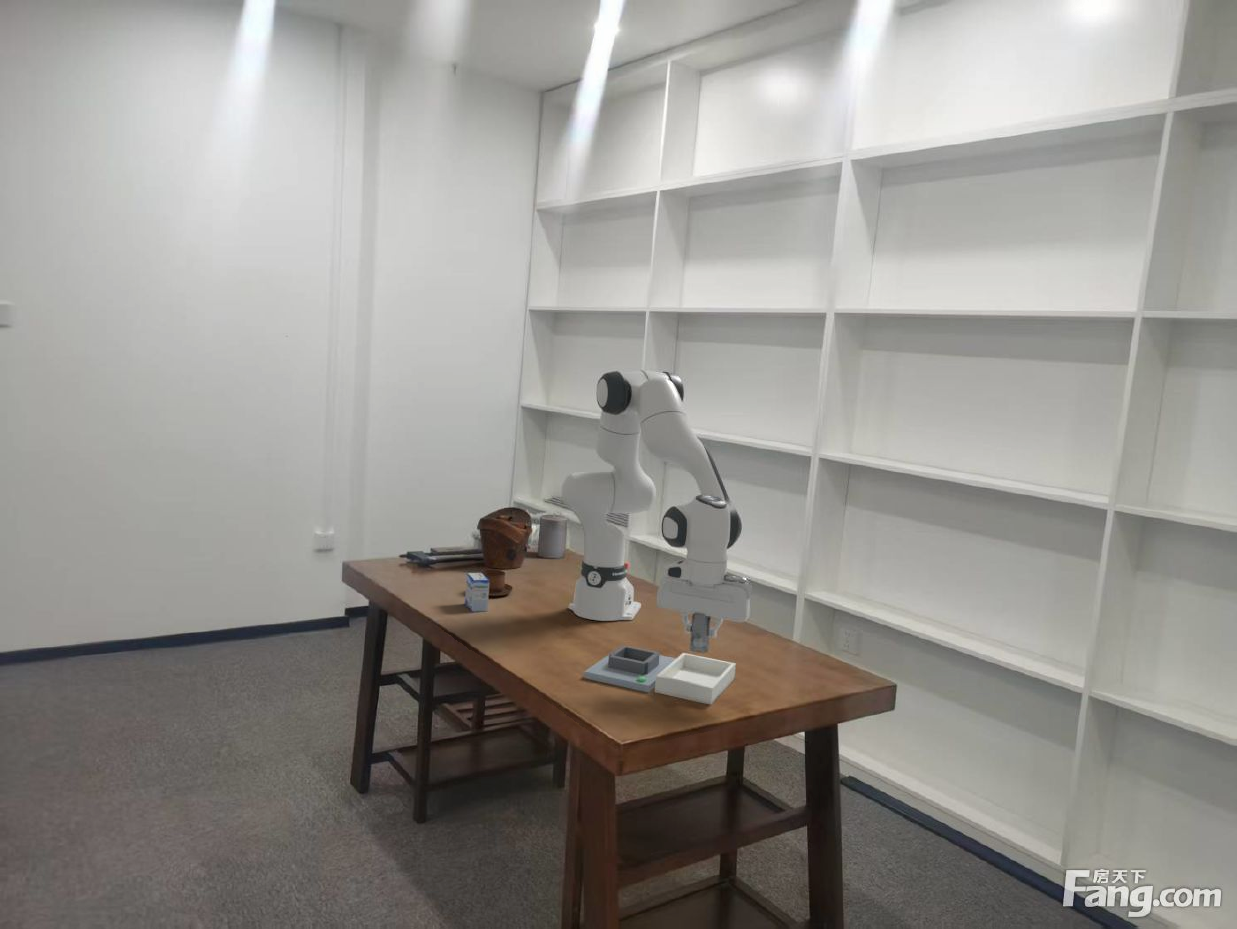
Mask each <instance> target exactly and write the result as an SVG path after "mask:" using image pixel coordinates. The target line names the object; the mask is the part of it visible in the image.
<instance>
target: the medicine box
mask: <svg viewBox="0 0 1237 929" xmlns="http://www.w3.org/2000/svg"><path fill="white" fill-rule="evenodd" d="M488 595H489V580H488V579H487V578H486V577H485V576H484V575H483V574H482V573H480V572H468V573H466V583H465V597H464V598H465V599H464V604H465V605H466V606H467V608H469V609H470V611H471V612H472V613H473V612H487V611H488V607H489V596H488Z"/></svg>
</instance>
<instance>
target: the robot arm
mask: <svg viewBox="0 0 1237 929" xmlns="http://www.w3.org/2000/svg"><path fill="white" fill-rule="evenodd" d="M595 395H596V402H597V405H598V407H599V408H600V409H601V413H600V416H599V417H600V418H599V422H598V427H597V428H598V429H597V435H596V436H597V437H596V441H595V451H596V454H597V455H598V457H599V458H600V459H601V460H602V461H604V462H606V463H607V464H609V465H611V466H612V467H613V470H612V471H594V470H593V471H590V470H588V471H587V470H586V471H579V472H578V471H577V472H572V473H569V474H568V476H566V478H565V479H564V481H563V483H562V485H561V493H560V494H561V498H562V501H563V504H564V505H565V507H567V508H568V509H569V510H570V511H571V512H572V513H573V514H574V515H575V516H576V518H577V519H578V521H579V523H580V525H581V527H582V531H583V536H584V537H583V539H584V543H583V544H584V547H583V548H584V549H583V550H584V551H583V560H582V562H581V566H580V574H581V576H580V577H579V578H578V579H577V580H575V581H576V583H575V587H574V588H575V589H574V593H573V594H574V596H573V603H572V602H571V603H569V605H568V609H569V610H571V611H573V614H575V615H576V616H578V617H580V618H583V619H588V620H594V621H601V622H609V621H610V622H613V621H631V620H634V618H635V616H636V615H637V614H638V612H639V611H640V610H641V608H642V604H641V602H639V601H635V600H634V597H635V596H634V595H635V591H634V590H635V588H634V586H633V585H632V583H631V582H630V581H629V580H628V578H627V571H628V570H629V569H630V562H627V561H626V562H625V558H626V556H625V555H626V548H627V547H626V545H627V544H626V543H627V539H626V535H625V534H624V532H623V531H622V530H621V529H620V528H618V527H617V526H615V525H613V524H611V523H609V522H608V520H607V515H608V514H638V513H642V512H646V511H649V510H650V509H651V508H652V507H653V505H654V503H655V501H656V497H657V488H656V485H655V483H654V481H653V480H652V478H651V477H650V476H649V475H648V474H646V472H645V471H644V469H642V466H641V464H640V459H639V446H640V440H641V436H642V439H643V443H644V445H645V447H646V449H647V450H648V452H649V453H650V454H652V456H654V457H656V459H658V460H661V461H663V462H666V463H669V464H671V465H674V466H677V467H679V468H680V469H682V470H685V471H686V472H688V473H689V474H690V475H691V476H692V477H693V479H694V480H695V481H696V482H695V483H696V484H697V488H698V490H699V492H700V494H699V495H696V496H694V498H693V499H692V500H691V501H689V502H687V503H684V504H679V505H673V506H670V507H669V508H668V509H667V510H666V512H665V513H664V515H663V518H662V520H661V534H662V538H663V539H664V541H665V542H666V543H667V544H668V545H669V546H671V547H672V548H676V549H686V550H687V551H686V557H685V560H681V561H675V562H672V563H671V562H670V563H669V564H667V565H666V566H664V567H663V570H662V572H663V576H664V577H662V578H661V579H660V581H659V585H658V588H657V592H656V594H657V595H656V605H657V606H658V607H659V608H660V609H663V610H669V611H670V610H671V611H676V612H680V616H679V617H680V618H681V621H682V623H683V625H684V628H683V630H684V633H688V634H691V627H692V622H690V619H689V617H688V616H689V615H690V614H692V615H693V614H694V613H701V614H705V615H706V616H709V617H711V618H714V620H713V621H714V624H715V623H716V624H715V625H714V627H713V626H710V629H709V631H708V632H709V634H708V637H709V638H713V639H716V638H717V635H718V629H719V628H720V626H721V625H722V624H723V623H724V620H726V621H732V622H737V623H744V622H745V621H747V620H748V619H749V617H750V615H751V597H752V595H753V594H752V593H753V585H752V583H751V582H750V581H749V580H747V578H745V577H743V576H742V577H738V576H734V575H729V574H727V571H728V570H727V569H728V559H729V558H728V554H727V553H728V552H727V550H729V549H730V548H731V547H733V546H734V545H735V544H736V543H737V541H739V538H740V537H741V535H742V534H741V533H742V530H743V529H742V528H743V526H742V520H741V517H740V515H739V513H738V511H737V509H736V507H735V506H734V505H733V502H732V501H731V499H730V497H729V495H728V492H727V490H726V487H725V485H724V482H723V481H722V478H721V475H720V473H719V471H718V469H717V466H716V463H715V460H714V459H713V457H712V455H711V452H710V450H709V449H708V447H707V445H706V444H705V443H703V442H702V441H701V440H700V439H699V438H698V437H697V435H696V434H695V433H694V431H693V429H692V427H691V426H690V424H689V421H688V418H687V414H686V413H687V412H686V410H685V407H684V396H685V390H684V384H683V382H682V380H681V378H680V377H679V376H678V375H677V374H675V373H672V372H668V371H662V372H661V371H654V370H645V369H641V370H629V371H618V370H615V371H610V372H606V373H604V374H602V376H601V377H600V378H599V380H598V381H597V385H596V394H595Z"/></svg>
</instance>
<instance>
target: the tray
mask: <svg viewBox="0 0 1237 929" xmlns="http://www.w3.org/2000/svg"><path fill="white" fill-rule="evenodd" d="M736 664H737V663H736V662H735V663H734V662H732V661H731V662H730V661H724V660H721V659H715V658H711V657H707V656H706V657H705V656H701V655H695V654H691V653H686V652H682V653H681V654H680V655H679V656H678V657H676V659H675V660H674V661H673V662H672V663H671V664H670V665H668V666H667V667H666V668H665V669H664V670H663V671H661V672H660V673H659V674H658V675H657V676H656V683H655V687H654V693H657V694H661V695H662V694H663V695H667V696H671V697H675V698H679V699H684V700H689V701H693V702H697V703H702V704H707V705H711V706H712V705H713V703H714V702H715V701H716V700H717V699H718V698H719V697H720V696H721V694H722V693H723V692H725V690H726V688H728V686H729V685H730V684H731V683H732V682H733V681H734V680H735V676H736V667H737V666H736Z"/></svg>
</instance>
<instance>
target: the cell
mask: <svg viewBox="0 0 1237 929" xmlns="http://www.w3.org/2000/svg"><path fill="white" fill-rule="evenodd" d="M711 622H712V617H709V616H706V615H705V614H701V613H694V614H692V616H691V624H692V627H691V633H690V641H689V651H691V652H693V653H697V654H699V653H700V654H704V653H705V654H706V653H708V652H709V648H710V647H709V646H710V637H708V634H709V632H708V631H709V629H710V628H711Z"/></svg>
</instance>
